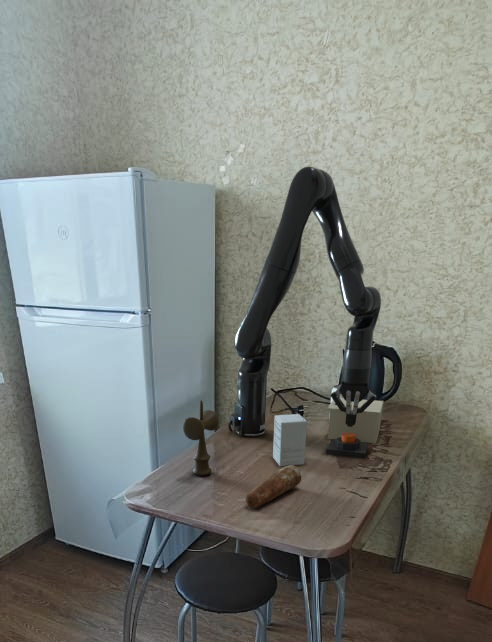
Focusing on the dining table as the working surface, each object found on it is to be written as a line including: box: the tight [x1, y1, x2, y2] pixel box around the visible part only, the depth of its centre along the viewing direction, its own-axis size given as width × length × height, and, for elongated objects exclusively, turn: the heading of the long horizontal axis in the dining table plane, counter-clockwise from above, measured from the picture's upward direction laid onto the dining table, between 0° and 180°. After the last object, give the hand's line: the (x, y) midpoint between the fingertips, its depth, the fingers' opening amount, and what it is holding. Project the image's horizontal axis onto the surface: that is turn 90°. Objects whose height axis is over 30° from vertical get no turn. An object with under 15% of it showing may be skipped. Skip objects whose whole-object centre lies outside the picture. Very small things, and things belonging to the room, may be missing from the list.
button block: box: [325, 437, 369, 459], centre depth 169 cm, size 11×9×4 cm
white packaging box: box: [272, 413, 308, 467], centre depth 160 cm, size 7×7×13 cm
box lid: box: [326, 388, 384, 415], centre depth 179 cm, size 16×14×5 cm
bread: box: [245, 465, 302, 509], centre depth 140 cm, size 6×19×6 cm, turn 140°
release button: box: [341, 433, 356, 443], centre depth 168 cm, size 4×4×2 cm
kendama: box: [182, 399, 220, 477], centre depth 150 cm, size 6×10×20 cm, turn 150°
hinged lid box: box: [327, 405, 384, 444], centre depth 182 cm, size 15×14×9 cm
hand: (350, 426), depth 166 cm, fingers closed
